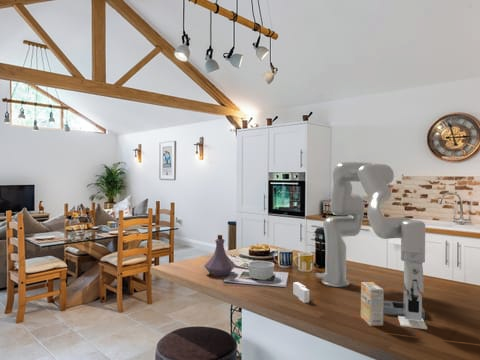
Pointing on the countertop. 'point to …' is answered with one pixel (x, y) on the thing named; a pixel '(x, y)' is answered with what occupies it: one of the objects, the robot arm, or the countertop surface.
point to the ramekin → (261, 269)
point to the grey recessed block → (396, 308)
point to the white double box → (301, 292)
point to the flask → (219, 260)
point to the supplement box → (372, 303)
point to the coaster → (412, 323)
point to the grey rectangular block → (405, 307)
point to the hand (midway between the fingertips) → (412, 308)
